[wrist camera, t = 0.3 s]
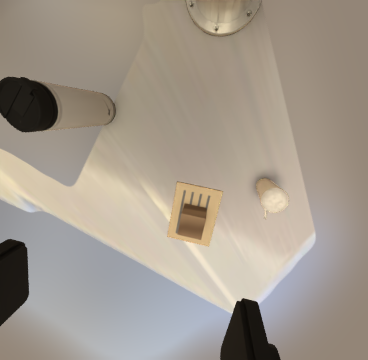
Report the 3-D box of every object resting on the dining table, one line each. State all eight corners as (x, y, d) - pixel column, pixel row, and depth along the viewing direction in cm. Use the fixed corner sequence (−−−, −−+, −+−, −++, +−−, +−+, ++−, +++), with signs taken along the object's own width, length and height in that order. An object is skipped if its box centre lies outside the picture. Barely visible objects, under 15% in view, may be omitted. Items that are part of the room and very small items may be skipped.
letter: (177, 181, 45) (177, 181, 45) (222, 191, 45) (222, 191, 44) (167, 236, 50) (167, 236, 50) (208, 245, 49) (208, 246, 49)
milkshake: (245, 190, 44) (254, 211, 35) (262, 170, 42) (276, 186, 33) (262, 202, 44) (275, 226, 35) (280, 183, 43) (299, 202, 33)
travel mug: (122, 107, 42) (49, 102, 23) (104, 131, 44) (22, 144, 25) (99, 84, 41) (3, 59, 23) (81, 109, 43) (-21, 106, 25)
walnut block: (184, 203, 46) (181, 213, 42) (206, 208, 46) (206, 218, 41) (180, 222, 48) (177, 234, 43) (202, 227, 48) (201, 240, 43)
